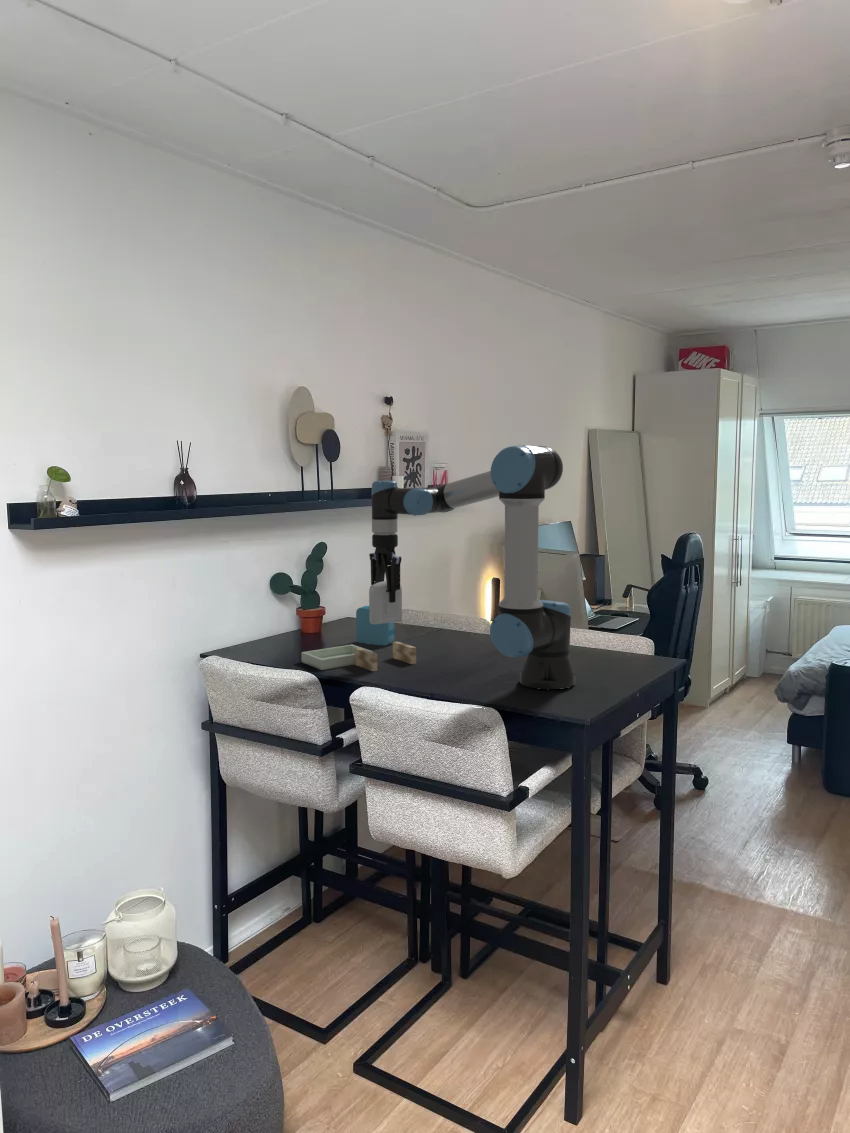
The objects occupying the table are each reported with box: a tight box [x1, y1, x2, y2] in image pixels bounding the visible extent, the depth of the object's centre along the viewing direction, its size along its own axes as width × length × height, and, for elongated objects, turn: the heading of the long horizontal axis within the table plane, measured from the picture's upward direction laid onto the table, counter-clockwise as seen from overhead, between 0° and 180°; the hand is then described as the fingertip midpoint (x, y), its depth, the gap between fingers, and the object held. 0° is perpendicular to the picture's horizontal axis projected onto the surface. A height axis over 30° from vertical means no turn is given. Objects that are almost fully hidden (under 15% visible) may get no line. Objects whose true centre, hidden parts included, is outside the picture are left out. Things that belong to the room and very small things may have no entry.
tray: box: [301, 643, 374, 671], centre depth 257 cm, size 12×18×3 cm, turn 127°
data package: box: [355, 605, 395, 647], centre depth 281 cm, size 12×4×12 cm, turn 66°
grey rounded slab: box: [368, 580, 403, 624], centre depth 252 cm, size 10×4×12 cm, turn 124°
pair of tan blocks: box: [353, 640, 417, 672], centre depth 254 cm, size 10×16×5 cm, turn 127°
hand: (385, 611), depth 252 cm, fingers closed on grey rounded slab, 4 cm apart
